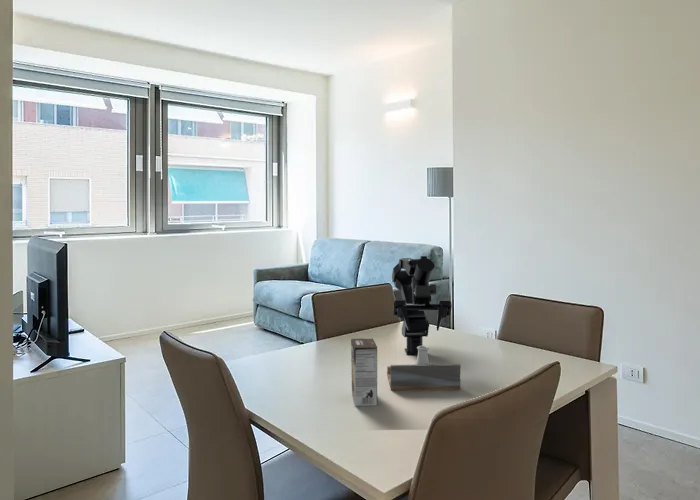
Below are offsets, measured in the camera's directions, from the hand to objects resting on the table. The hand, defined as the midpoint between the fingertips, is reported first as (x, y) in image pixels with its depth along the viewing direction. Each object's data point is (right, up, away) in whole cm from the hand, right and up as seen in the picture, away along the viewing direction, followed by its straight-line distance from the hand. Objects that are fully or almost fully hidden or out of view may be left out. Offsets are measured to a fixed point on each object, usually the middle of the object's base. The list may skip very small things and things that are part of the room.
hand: (423, 330), depth 166 cm
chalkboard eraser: (-2, -14, -9) cm, 17 cm away
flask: (-2, -13, -10) cm, 17 cm away
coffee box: (-19, -16, -22) cm, 34 cm away
